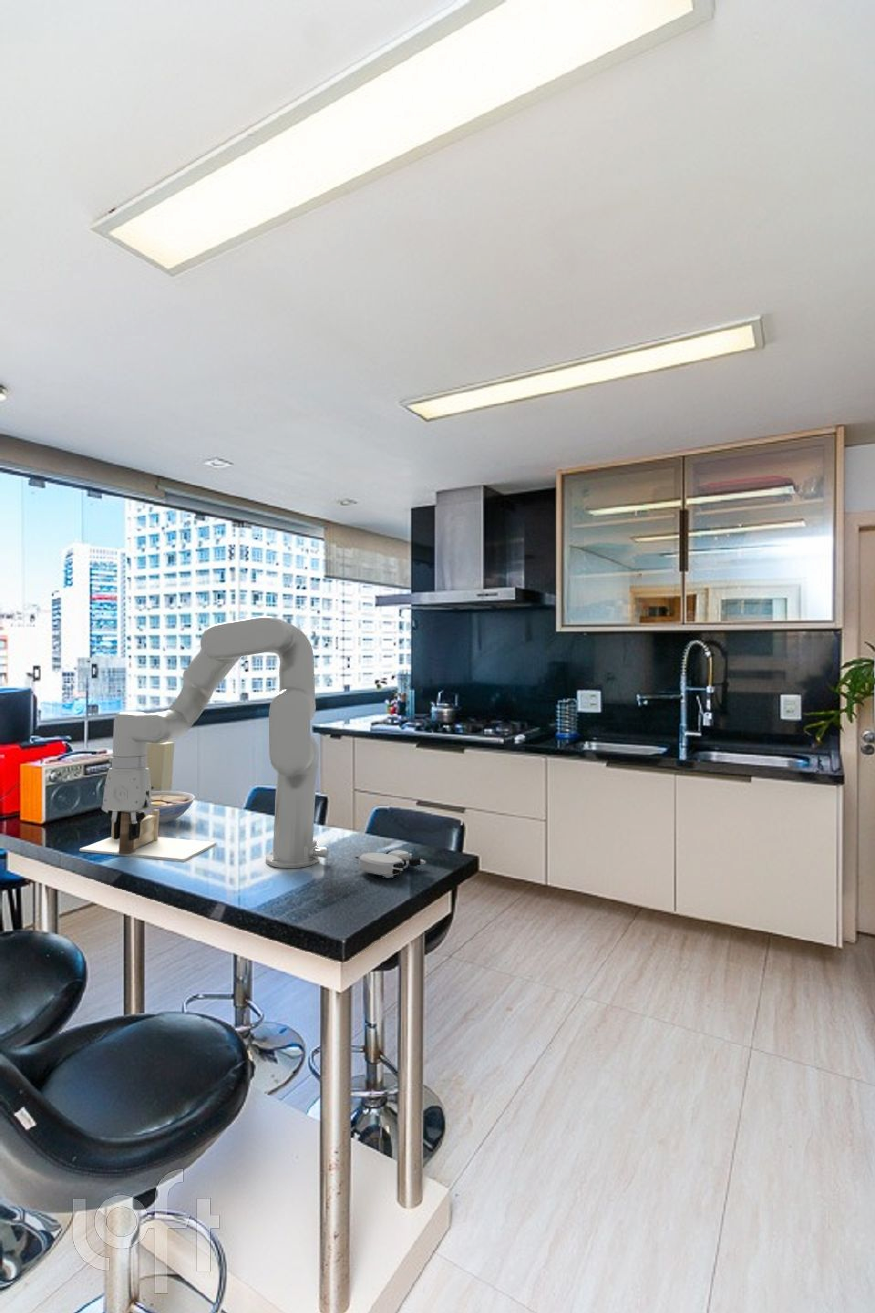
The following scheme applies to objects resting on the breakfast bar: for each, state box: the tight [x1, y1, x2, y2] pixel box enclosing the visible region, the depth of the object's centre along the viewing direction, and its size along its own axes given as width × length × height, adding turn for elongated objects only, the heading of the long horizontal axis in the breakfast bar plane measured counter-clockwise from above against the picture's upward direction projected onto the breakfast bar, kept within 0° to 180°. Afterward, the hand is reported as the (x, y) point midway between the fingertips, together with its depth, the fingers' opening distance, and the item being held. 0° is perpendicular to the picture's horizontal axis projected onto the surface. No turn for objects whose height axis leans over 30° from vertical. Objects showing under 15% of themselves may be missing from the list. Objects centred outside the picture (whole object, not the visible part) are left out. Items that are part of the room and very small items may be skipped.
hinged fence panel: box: [119, 811, 156, 854], centre depth 153 cm, size 12×3×10 cm, turn 174°
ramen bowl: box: [142, 787, 196, 826], centre depth 179 cm, size 25×23×8 cm
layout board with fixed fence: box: [79, 809, 218, 862], centre depth 155 cm, size 28×16×8 cm, turn 81°
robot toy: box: [351, 849, 427, 876], centre depth 145 cm, size 12×4×15 cm
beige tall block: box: [146, 741, 175, 791], centre depth 200 cm, size 8×7×21 cm
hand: (126, 837), depth 149 cm, fingers closed on hinged fence panel, 3 cm apart
